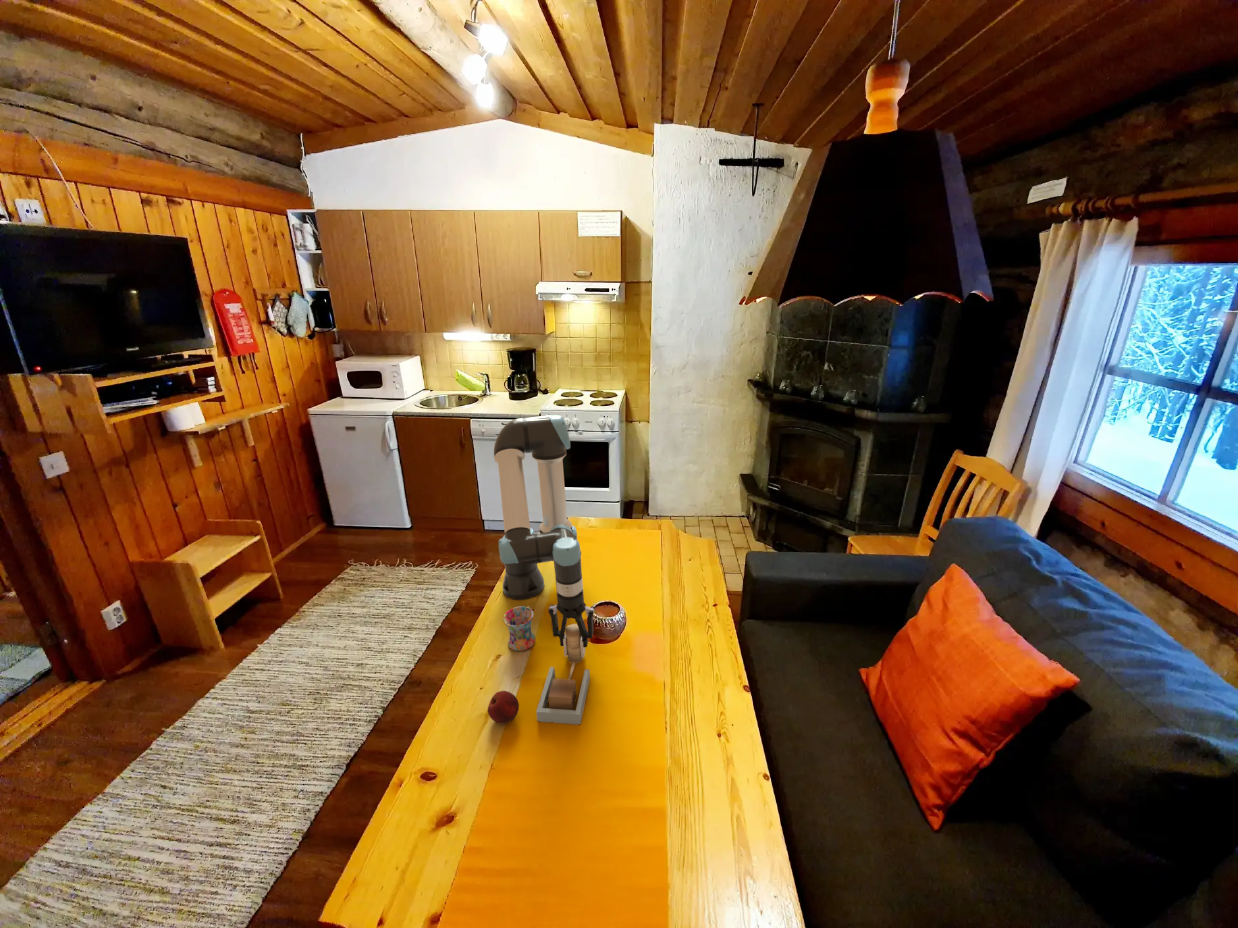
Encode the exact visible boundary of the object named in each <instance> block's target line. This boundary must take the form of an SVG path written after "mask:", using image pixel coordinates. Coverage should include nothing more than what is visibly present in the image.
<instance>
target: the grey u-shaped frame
mask: <svg viewBox="0 0 1238 928" xmlns="http://www.w3.org/2000/svg"><path fill="white" fill-rule="evenodd" d="M548 670H549V671H548V673H547V676H546V678H545V679H546V680H545V682H544V686H543V688H542V689H543V690H542V692H541V695H540V699H539V702H538V705H537V708H536V712H535V713H536V721H537V722H538V721H540V722H542V723H551V722H553V723H554V724H565V725H567V724H568V725H578V724H580V725H581V723H582V719H583V715H582V714H583V713H584V709H585V704H586V700H587V694H588V691H589V690H588V689H589V686H588V685H590V681H589V680H591V677H590V676H591V675H590V669H588V668H587V669H586V668H585V669H584V673H583V677H582V681H581V686H580V689H579V690H580V691H579V696H578V699H577V704H576V708H575V709H574V710H562V709H550V708H547V707H546V706H548V704H549V700H548V699H549V698H548V696H549V693H550V689H551V686H552V682H553V679H554V678H555V679H556V670H555V667H554V666H553V667H552V666H550V667H549V669H548Z"/></svg>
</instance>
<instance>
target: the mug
mask: <svg viewBox="0 0 1238 928" xmlns="http://www.w3.org/2000/svg"><path fill="white" fill-rule="evenodd" d="M534 613H535V612H533V609H532V608H531V606H523V605H522V606H515V607H512V608H511V609H509V610H507V611H506V612H505V613H504V615H503V618H502V619H503V622H504V624H505V625H506V627H507V629H508V632H509V638H508V641H507V645H508V647H509V648H510V649H511V650H513V651H518V652H519V651H525V650H528V649H530V648H531V647H532V646H533V645H534V644H535V642H536V636H535V635H534V633H533V631H532V621H533V619H534V615H535V614H534Z"/></svg>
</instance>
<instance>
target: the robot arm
mask: <svg viewBox="0 0 1238 928" xmlns="http://www.w3.org/2000/svg"><path fill="white" fill-rule="evenodd" d="M493 447H494V448H493V459H494V462H496V464H497V465H498V474H499V475H498V476H499V477H498V478H499V486H500V499H501V509H502V517H503V519H502V520H503V528H504V529H503V530H504V535H503V536H502V538H500V539H499V540H498V553H499V558H500V562H501V563H502V564H504V571H505V572H504V578H503V582H502V590H503V591H502V593H503V594H504V595H505V596H506V597H507V598H509V599H511V600H516V601H522V600H524V601H525V600H528V599H532V598H535V597H537V595H539V594H540V593H542V591H543V590H544V588H545V579H544V577H543V575H542V572H541V570H540V569H539V566H538V564H541V563H542V564H543V563H549V562H553V565H554V568H553V569H554V574H555V575H554V577H555V586H556V598H557V599H556V600H557V604H555V605H554V604H550V605H549V608H548V610H547V613H548V614H549V616H550V620H551V631H552V635H553V637H554V638H556V637H558V638H559V645H560V646H561V647H563V653H564V657H565V658H568V652H567V641H566V627H567V623H568V619H573V620H574V621H575V623H576V624H577V625H578V628H579V631H580V634H581V638H580V648H581V658H582V659H584V658H585V654H586V648H587V647H588V646H589V645H588V644H589V640H592V639H593V636H594V613H595V606H593V605H592V606H590V607H589V606H587V604H586V603H585V599H584V597H585V596H584V584H583V583H584V581H583V573H582V572H583V571H582V550H581V544H580V542H579V540H578V532H577V528H576V526H575V525H572V524H573V523H572V522H571V520H569V519H568V511H567V500H566V488H565V475H564V463H563V462H564V461H563V460H564V458H565V457H566V456H567V450H570V449H571V441H570V436H569V432H568V427H567V423H566V421H565V418H564V417H563V416H562V415H560V414H559V415H557V414H556V415H550V414H548V415H542V416H533V417H532V416H531V417H523V418H522V417H520V418H518V417H517V418H514V419H512V420H511V421H509V422H508V423H506V424H505V425H504V426H503V428H502V429H501V430H500V431H499V433H498V434H497V437H496V440H495V442H494V446H493ZM530 453H531V457H532V459H534V460H535V461H536V462H537V472H538V482H539V492H540V501H541V502H540V503H541V511H542V520H543V521H542V523H540V525H539V530H534V528H533V527H531V524H530V523H531V522H530V516H529V507H528V499H527V498H528V497H527V491H526V490H527V489H526V483H525V474H524V465H523V460H524V459H525V458H526V456H525V454H530ZM558 612H559V614H561V615H562V618H561V619H562V620H561V625H560V629H559V620H558ZM584 612H585V614H586V616H587V627H586V624H585V620H584V618H583V613H584Z"/></svg>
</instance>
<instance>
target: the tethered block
mask: <svg viewBox="0 0 1238 928" xmlns="http://www.w3.org/2000/svg"><path fill="white" fill-rule="evenodd" d="M565 633H566V641H567V652H568V655H567V660H569V661H568V662H569V663H570V662H571V663H570V664H571V667H570V670H569V675H568V679H567V678H555V679H553V682H552V686H551V689H550V693H549V696H548V698H549V700H548V704H549V709H562V710H573V709H574V710H575V704H576V701H575V700H577V697H576V696H577V686H576V679H572V678H573V674H574V670H575V666H576V664H579V663H580V662H582V661H581V660H583V658H581V648H580V638H581V634H580V631H579V628H578V625H577V623H572V624H569V625H566V629H565ZM578 662H579V663H578ZM575 663H576V664H575ZM572 673H573V674H572ZM571 677H572V678H571Z"/></svg>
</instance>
